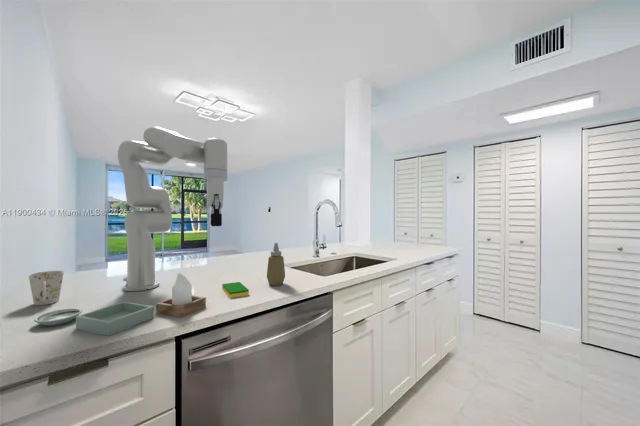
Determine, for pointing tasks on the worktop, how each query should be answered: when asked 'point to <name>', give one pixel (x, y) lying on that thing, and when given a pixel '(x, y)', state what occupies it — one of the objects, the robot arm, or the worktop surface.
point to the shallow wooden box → (180, 307)
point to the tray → (114, 318)
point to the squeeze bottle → (275, 267)
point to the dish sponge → (235, 289)
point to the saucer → (57, 316)
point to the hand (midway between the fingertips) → (215, 225)
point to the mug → (46, 287)
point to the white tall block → (181, 291)
